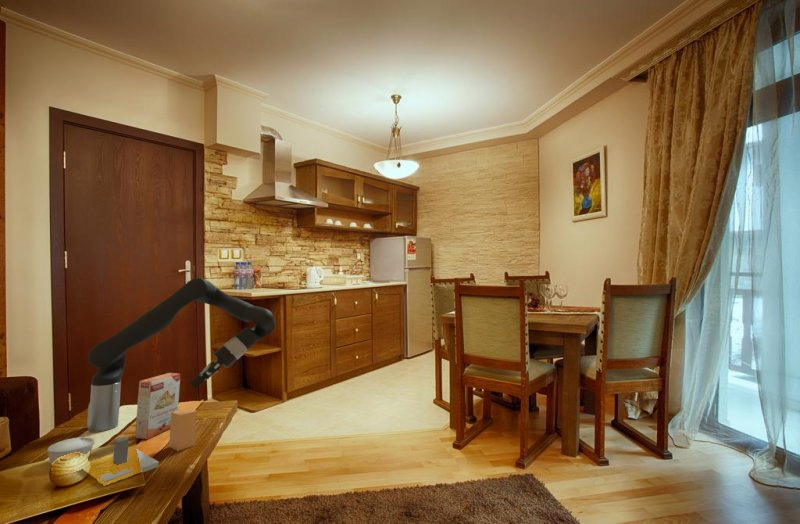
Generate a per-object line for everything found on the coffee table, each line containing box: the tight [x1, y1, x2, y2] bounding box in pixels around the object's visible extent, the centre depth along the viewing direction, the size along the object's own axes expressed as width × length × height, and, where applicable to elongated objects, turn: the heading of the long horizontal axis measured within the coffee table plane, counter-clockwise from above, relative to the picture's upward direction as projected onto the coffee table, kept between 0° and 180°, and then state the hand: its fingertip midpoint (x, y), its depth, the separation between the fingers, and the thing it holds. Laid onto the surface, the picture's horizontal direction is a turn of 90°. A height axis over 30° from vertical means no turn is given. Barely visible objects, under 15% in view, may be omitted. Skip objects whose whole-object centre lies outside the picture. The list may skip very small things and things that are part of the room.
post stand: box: [100, 436, 160, 482], centre depth 115 cm, size 18×14×8 cm
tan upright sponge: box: [168, 407, 198, 452], centre depth 131 cm, size 6×6×12 cm
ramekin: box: [46, 436, 95, 465], centre depth 119 cm, size 11×11×5 cm
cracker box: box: [134, 372, 181, 440], centre depth 143 cm, size 14×6×21 cm, turn 168°
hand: (192, 385), depth 131 cm, fingers open, 8 cm apart
